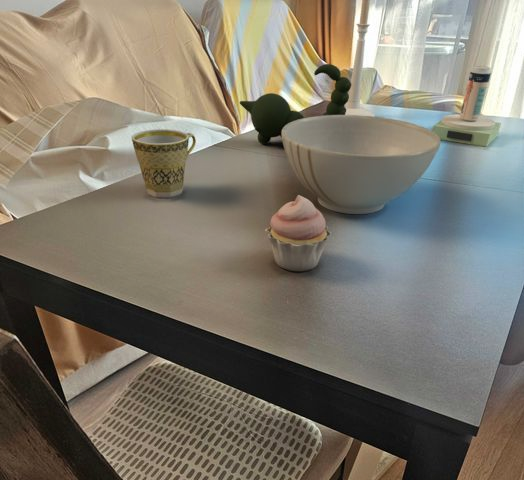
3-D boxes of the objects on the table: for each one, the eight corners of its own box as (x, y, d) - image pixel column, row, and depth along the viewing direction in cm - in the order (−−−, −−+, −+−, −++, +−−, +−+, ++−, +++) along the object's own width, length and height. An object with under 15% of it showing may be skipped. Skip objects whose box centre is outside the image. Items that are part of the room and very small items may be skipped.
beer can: (462, 116, 133) (475, 65, 126) (480, 119, 131) (494, 67, 124) (456, 120, 130) (469, 67, 123) (475, 123, 128) (489, 69, 121)
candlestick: (322, 117, 146) (333, -10, 128) (342, 109, 155) (355, -11, 137) (362, 124, 141) (379, -8, 123) (381, 116, 149) (400, -8, 131)
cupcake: (267, 246, 78) (269, 181, 72) (327, 250, 77) (335, 185, 71) (260, 275, 70) (262, 205, 64) (327, 280, 70) (335, 210, 64)
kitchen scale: (497, 134, 135) (502, 118, 133) (486, 147, 125) (490, 130, 123) (445, 126, 141) (448, 111, 138) (430, 138, 131) (433, 121, 128)
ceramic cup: (161, 205, 90) (155, 147, 84) (127, 191, 95) (120, 135, 89) (214, 188, 98) (212, 133, 92) (180, 175, 103) (177, 123, 97)
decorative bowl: (256, 215, 87) (257, 142, 80) (304, 170, 107) (308, 109, 100) (413, 243, 80) (430, 165, 72) (433, 189, 100) (448, 124, 92)
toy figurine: (338, 151, 125) (241, 133, 128) (355, 65, 114) (248, 47, 116) (335, 162, 118) (232, 143, 120) (353, 71, 106) (238, 53, 109)
